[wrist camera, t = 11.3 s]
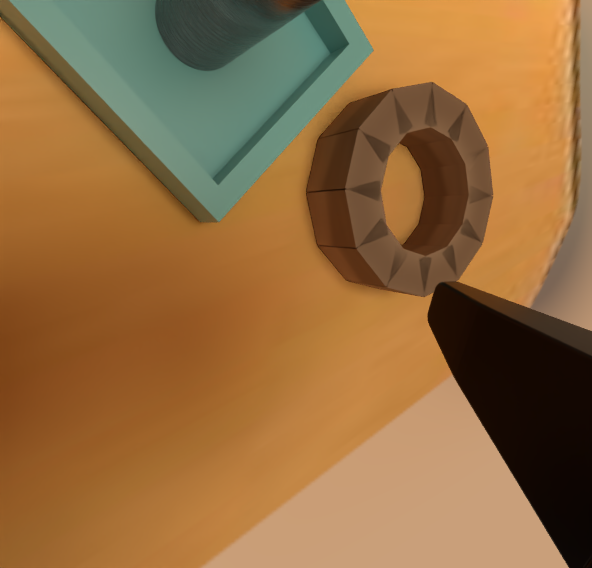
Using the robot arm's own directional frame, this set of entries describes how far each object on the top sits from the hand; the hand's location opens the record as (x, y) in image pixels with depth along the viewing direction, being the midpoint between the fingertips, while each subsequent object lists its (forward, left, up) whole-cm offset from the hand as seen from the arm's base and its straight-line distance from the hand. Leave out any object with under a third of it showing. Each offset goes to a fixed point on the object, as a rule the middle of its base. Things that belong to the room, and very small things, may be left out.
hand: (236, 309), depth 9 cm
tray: (+9, +4, -11) cm, 15 cm away
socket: (+12, -8, -11) cm, 18 cm away
